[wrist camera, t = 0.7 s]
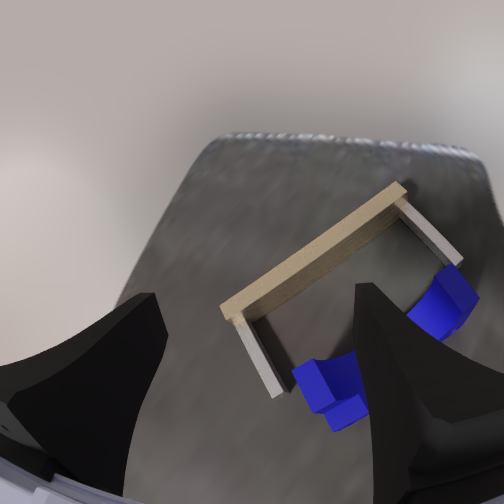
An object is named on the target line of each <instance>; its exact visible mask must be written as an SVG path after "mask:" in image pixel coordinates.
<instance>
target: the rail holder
mask: <svg viewBox="0 0 504 504" xmlns="http://www.w3.org/2000/svg"><path fill="white" fill-rule="evenodd" d="M399 219H401V220H402V221H403V222H404V223H405V224H406V225H407V226H408V227H409V228H410V229H411V230H412V231H413V232H414V233H415V234H416V235H417V236H418V237H419V238H420V239H421V240H422V241H423V242H424V243H425V244H426V245H427V246H428V247H429V248H430V249H431V251H432V252H433V253H434V254H435V255H436V256H437V257H438V258H439V259H440V260H441V261H442V263H443V264H444V265H445V266H448V265H449V264H450V263H451V262H452V263H453V265H454V266H455V267H456V268H457V269H459V268H460V267H461V265H462V262H463V259H464V258H463V257H462V256H461V255H460V254H459V253H458V252H457V251H456V249H455V248H454V247H453V246H452V245H451V244H450V243H449V242H448V241H447V240H446V239H445V238H444V237H443V236H442V235H441V234H440V233H439V232H438V231H437V230H436V229H435V228H434V227H433V226H432V225H431V224H430V223H429V222H428V221H427V220H426V219H425V218H424V217H423V216H422V215H421V214H420V213H419V212H418V211H417V210H416V209H415V208H413V207H412V206H411V205H410V204H409V203H408V193H407V191H406V190H405V189H404V188H403V187H402V186H401V185H400V184H398V183H397V182H396V181H395V182H394V183H392V184H391V185H390V186H388V187H387V188H385V189H384V190H383V191H381V192H380V193H379V194H377V195H376V196H375V197H373V198H372V199H370V200H369V201H368V202H366V203H365V204H364V205H362V206H361V207H359V208H358V209H357V210H355V211H354V212H353V213H351V214H350V215H348V216H347V217H346V218H344V219H343V220H341V221H340V222H339V223H337V224H336V225H335V226H333V227H332V228H330V229H329V230H328V231H326V232H325V233H323V234H322V235H321V236H319V237H318V238H316V239H315V240H313V241H312V242H311V243H309V244H308V245H306V246H305V247H304V248H302V249H301V250H299V251H298V252H296V253H295V254H294V255H292V256H291V257H289V258H288V259H287V260H285V261H284V262H282V263H281V264H279V265H278V266H277V267H275V268H274V269H272V270H271V271H269V272H268V273H266V274H265V275H264V276H262V277H261V278H259V279H258V280H256V281H255V282H253V283H252V284H251V285H249V286H248V287H246V288H245V289H243V290H242V291H240V292H239V293H237V294H236V295H235V296H233V297H232V298H230V299H229V300H227V301H226V302H224V303H223V304H221V305H220V308H221V310H222V312H223V314H224V316H225V319H226V320H227V321H228V322H230V323H231V324H233V325H235V327H236V329H237V331H238V333H239V335H240V337H241V339H242V341H243V343H244V345H245V347H246V349H247V351H248V353H249V355H250V357H251V359H252V361H253V363H254V365H255V366H256V368H257V370H258V372H259V374H260V376H261V378H262V380H263V382H264V384H265V386H266V388H267V389H268V391H269V393H270V395H271V397H272V398H273V399H278V400H279V399H281V398H283V397H284V396H286V395H288V394H289V391H288V389H287V388H286V386H285V384H284V382H283V380H282V379H281V377H280V375H279V373H278V371H277V370H276V368H275V366H274V364H273V362H272V360H271V359H270V357H269V355H268V353H267V351H266V349H265V348H264V346H263V344H262V342H261V340H260V338H259V337H258V335H257V333H256V331H255V329H254V327H253V325H252V324H253V323H255V322H256V321H258V320H259V319H261V318H262V317H264V316H265V315H267V314H268V313H270V312H271V311H273V310H274V309H275V308H277V307H278V306H280V305H281V304H283V303H284V302H286V301H287V300H289V299H290V298H292V297H293V296H295V295H296V294H297V293H299V292H300V291H302V290H303V289H305V288H306V287H308V286H309V285H310V284H312V283H313V282H315V281H316V280H317V279H319V278H320V277H322V276H323V275H325V274H326V273H327V272H329V271H330V270H332V269H333V268H334V267H336V266H337V265H338V264H340V263H341V262H343V261H344V260H345V259H347V258H348V257H349V256H351V255H352V254H354V253H355V252H356V251H358V250H359V249H360V248H362V247H363V246H364V245H366V244H367V243H368V242H370V241H371V240H372V239H374V238H375V237H376V236H378V235H379V234H380V233H382V232H383V231H384V230H386V229H387V228H388V227H390V226H391V225H392V224H393V223H395V222H396V221H397V220H399Z"/></svg>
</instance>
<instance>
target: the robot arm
mask: <svg viewBox="0 0 504 504" xmlns="http://www.w3.org/2000/svg"><path fill="white" fill-rule="evenodd" d="M353 337H354V345H355V353H356V358H357V362H358V366H359V370H360V374H361V378H362V383H363V387H364V391H365V395H366V400H367V404H368V409H369V415H370V425H371V436H372V451H373V479H374V496H373V504H504V374H503V373H500V372H497V371H495V370H492V369H490V368H488V367H486V366H483V365H481V364H479V363H477V362H475V361H473V360H471V359H469V358H467V357H465V356H463V355H461V354H460V353H458V352H456V351H454V350H452V349H451V348H449V347H448V346H446V345H444V344H443V343H441V342H440V341H439V340H437V339H436V338H434V337H433V336H431V335H430V334H429V333H427V332H426V331H425V330H423V329H422V328H421V327H420V326H418V325H417V324H416V323H415V322H414V321H412V320H411V319H410V318H409V317H408V316H407V315H405V314H404V313H403V312H402V311H401V310H400V309H399V308H398V307H397V306H396V305H395V304H394V303H393V302H392V301H391V300H390V299H389V298H388V297H387V296H386V295H385V294H384V293H383V292H382V291H381V290H380V289H379V288H378V287H377V286H376V285H375V284H374V283H359V284H355V303H354V320H353ZM167 339H168V332H167V329H166V326H165V324H164V321H163V318H162V315H161V312H160V308H159V305H158V302H157V299H156V296H155V293H139V294H137V295H136V296H134V297H132V298H131V299H129V300H127V301H126V302H124V303H123V304H122V305H120V306H119V307H117V308H116V309H114V310H113V311H111V312H110V313H109V314H107V315H106V316H104V317H103V318H101V319H100V320H98V321H97V322H95V323H94V324H92V325H91V326H89V327H88V328H86V329H85V330H83V331H81V332H80V333H78V334H77V335H75V336H73V337H72V338H70V339H68V340H66V341H64V342H63V343H60V344H59V345H57V346H55V347H53V348H50V349H48V350H46V351H43V352H41V353H39V354H37V355H35V356H32V357H29V358H27V359H24V360H21V361H18V362H14V363H11V364H8V365H3V366H0V504H145V503H142V502H138V501H134V500H130V499H127V498H123V486H124V477H125V470H126V464H127V458H128V453H129V448H130V444H131V439H132V435H133V431H134V428H135V424H136V421H137V417H138V414H139V411H140V408H141V405H142V403H143V400H144V398H145V396H146V393H147V391H148V389H149V387H150V384H151V382H152V380H153V378H154V375H155V373H156V371H157V369H158V366H159V364H160V362H161V359H162V357H163V354H164V350H165V347H166V343H167Z"/></svg>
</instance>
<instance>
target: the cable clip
mask: <svg viewBox="0 0 504 504" xmlns="http://www.w3.org/2000/svg"><path fill="white" fill-rule="evenodd" d="M479 299H480V298H479V296H478V295H477V294H476V292H475V291H474V290H473V288H472V287H471V286H470V284H469V283H468V282H467V281H466V279H465V278H464V277H463V276H462V274H461V273H460V272H459V271H458V269H457V268H456V267H455V266H454V265H453V263H452V262H451V263H450V264H449V265H448V266H446V267H445V268H444V269H443V270H441V271H440V272H439V273H438V274H436V275H435V276H434V279H433V282H432V284H431V286H430V288H429V289H428V291H427V292H426V294H425V295H424V296H423V298H422V299H421V300H420V301H419V302H418V304H417V305H416V306H415V307H414V308H413V309H412V310H411V311H410V312H409V313H408V314H407V316H408V317H409V318H410V319H411V320H412V321H414V322H415V323H416V324H417V325H418V326H420V327H421V328H422V329H423V330H425V331H426V332H427V333H429V334H430V335H431V336H433V337H434V338H436V339H437V340H439V341H440V342H442V341H443V340H445V339H446V338H447V337H448V336H450V335H451V334H452V333H453V332H455V331H456V330H457V329H458V328H460V327H461V326H462V325H463V324H464V322H465V321H466V319H467V318H468V316H469V315H470V313H471V312H472V310H473V309H474V307H475V305H476V304H477V302H478V301H479ZM292 373H293V375H294V377H295V379H296V381H297V383H298V385H299V387H300V389H301V391H302V393H303V395H304V397H305V399H306V401H307V402H308V404H309V406H310V408H311V410H312V412H313V413H320V414H324V416H325V418H326V419H327V421H328V423H329V425H330V427H331V429H332V431H333V432H336V431H340V430H342V429H344V428H345V427H347V426H349V425H351V424H353V423H354V422H356V421H358V420H360V419H361V418H363V417H365V416H367V415H368V414H369V409H368V404H367V400H366V395H365V391H364V387H363V383H362V378H361V374H360V370H359V366H358V362H357V358H356V353H355V350H354V351H352V352H350V353H348V354H345V355H343V356H340V357H337V358H333V359H329V360H315V359H311V360H309V361H308V362H306V363H304V364H302V365H301V366H299V367H297V368H295V369H294V370H292Z"/></svg>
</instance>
